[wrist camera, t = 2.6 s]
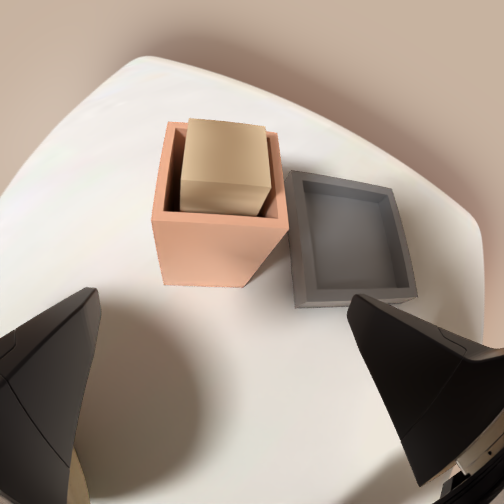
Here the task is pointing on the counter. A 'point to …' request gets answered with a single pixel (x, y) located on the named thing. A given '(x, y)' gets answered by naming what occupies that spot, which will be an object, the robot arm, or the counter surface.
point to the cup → (212, 225)
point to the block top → (224, 168)
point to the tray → (345, 242)
